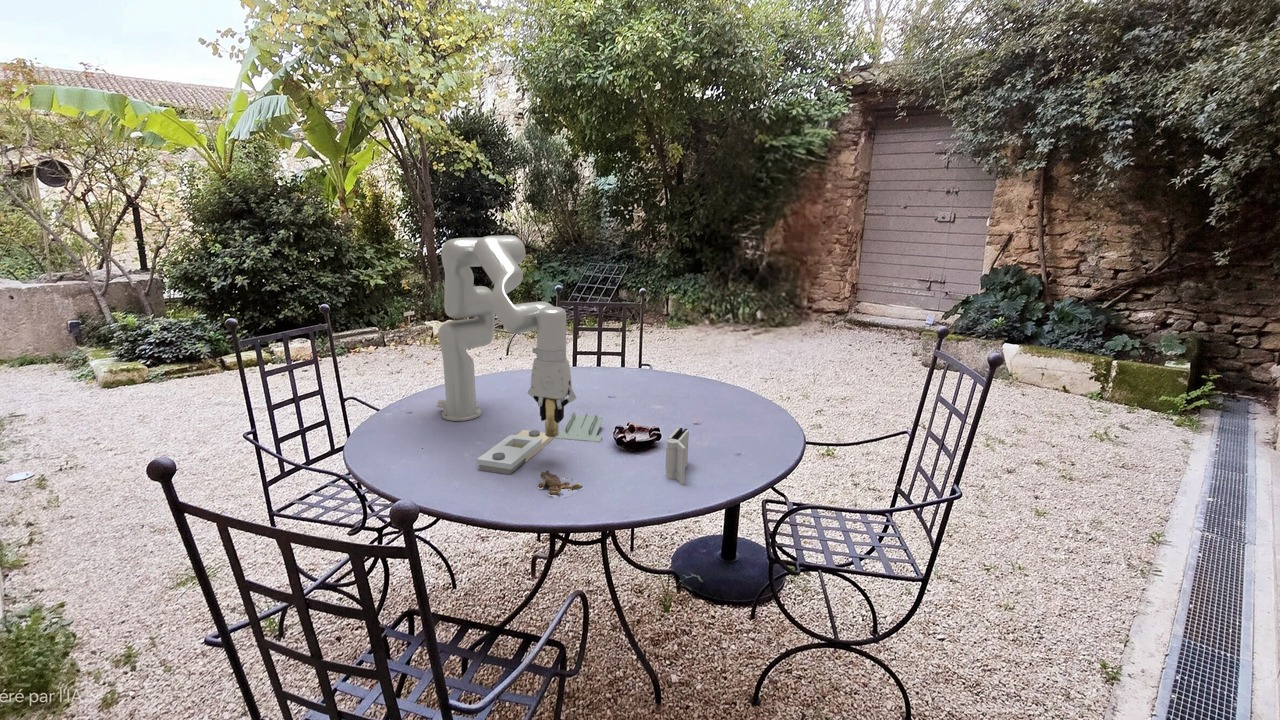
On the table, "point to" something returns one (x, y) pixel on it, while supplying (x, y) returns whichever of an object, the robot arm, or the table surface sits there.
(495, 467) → the white peg board
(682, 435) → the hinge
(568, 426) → the metal bracket
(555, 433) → the brass pin
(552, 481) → the frog figurine
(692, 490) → the table surface
